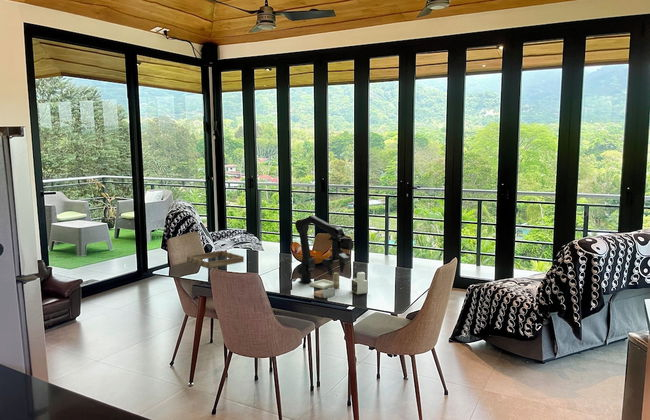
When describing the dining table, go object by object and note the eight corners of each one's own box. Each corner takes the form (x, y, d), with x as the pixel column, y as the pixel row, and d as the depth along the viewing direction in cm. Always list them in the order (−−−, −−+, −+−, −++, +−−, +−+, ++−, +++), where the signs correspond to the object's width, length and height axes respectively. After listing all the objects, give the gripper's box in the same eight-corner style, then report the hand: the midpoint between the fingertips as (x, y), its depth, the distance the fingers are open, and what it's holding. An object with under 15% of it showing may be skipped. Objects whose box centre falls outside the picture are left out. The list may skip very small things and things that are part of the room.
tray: (309, 285, 301) (309, 282, 301) (323, 282, 309) (323, 279, 309) (323, 289, 293) (323, 286, 293) (337, 285, 301) (337, 282, 301)
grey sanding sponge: (322, 297, 277) (322, 290, 277) (332, 294, 283) (332, 287, 282) (325, 298, 276) (325, 291, 275) (335, 295, 281) (335, 288, 281)
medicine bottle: (351, 291, 290) (351, 271, 289) (362, 289, 293) (362, 269, 291) (356, 294, 284) (357, 273, 282) (367, 292, 286) (368, 272, 285)
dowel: (332, 288, 296) (332, 273, 295) (336, 287, 299) (336, 272, 297) (336, 289, 294) (336, 274, 293) (340, 288, 296) (340, 273, 295)
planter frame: (187, 261, 365) (186, 256, 364) (221, 255, 385) (221, 250, 384) (208, 268, 344) (208, 262, 343) (243, 261, 364) (243, 256, 364)
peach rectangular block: (314, 295, 282) (314, 291, 282) (323, 293, 286) (323, 289, 286) (320, 298, 277) (320, 294, 277) (330, 296, 282) (330, 291, 281)
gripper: (334, 252, 281) (334, 279, 283) (357, 247, 294) (356, 273, 296) (321, 249, 289) (321, 275, 291) (343, 245, 302) (343, 270, 304)
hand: (336, 273), depth 295 cm, fingers open, 9 cm apart
